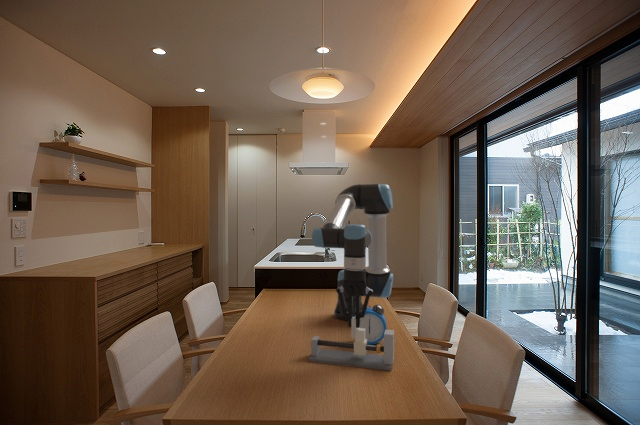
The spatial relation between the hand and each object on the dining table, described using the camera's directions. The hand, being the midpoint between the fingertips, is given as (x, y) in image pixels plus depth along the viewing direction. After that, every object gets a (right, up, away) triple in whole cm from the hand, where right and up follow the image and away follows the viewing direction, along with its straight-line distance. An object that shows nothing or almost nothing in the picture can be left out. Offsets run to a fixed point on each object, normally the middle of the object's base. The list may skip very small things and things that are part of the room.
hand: (354, 336), depth 130 cm
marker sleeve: (+2, -6, 0) cm, 6 cm away
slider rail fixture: (-1, -8, 0) cm, 8 cm away
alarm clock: (+8, -9, +18) cm, 21 cm away
